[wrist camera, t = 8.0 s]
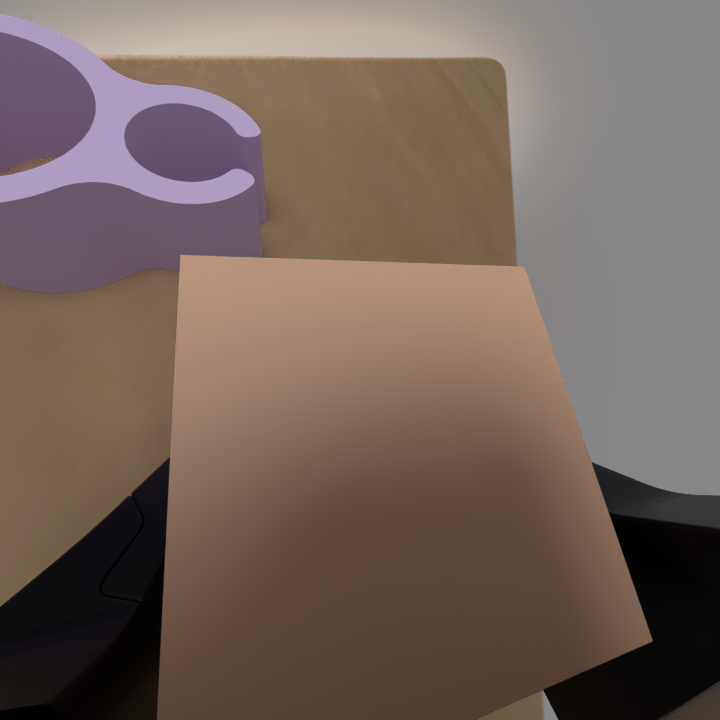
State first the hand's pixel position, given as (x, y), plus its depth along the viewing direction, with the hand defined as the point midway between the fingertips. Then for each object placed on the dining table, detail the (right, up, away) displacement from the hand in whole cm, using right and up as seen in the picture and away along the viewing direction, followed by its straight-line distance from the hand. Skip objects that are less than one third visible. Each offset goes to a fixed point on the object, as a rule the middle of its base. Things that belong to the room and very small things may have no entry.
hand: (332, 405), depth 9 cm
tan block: (-1, -3, +6) cm, 7 cm away
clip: (-16, +11, +12) cm, 23 cm away
